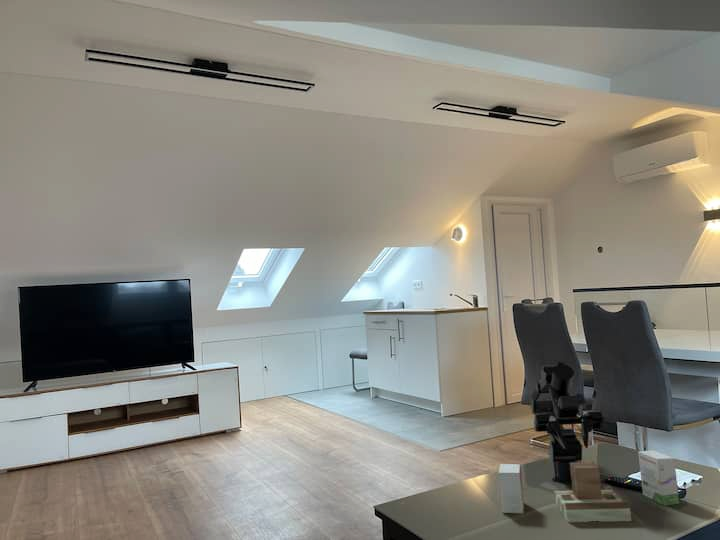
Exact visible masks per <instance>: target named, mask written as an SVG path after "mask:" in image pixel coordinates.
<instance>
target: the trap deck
mask: <svg viewBox="0 0 720 540" xmlns="http://www.w3.org/2000/svg"><path fill="white" fill-rule="evenodd" d="M601 493H602V499H584V500H578V499H577V498H576V496H575V495H574V494H573V490H558V491H557V490H554V491H553V494H554V503H555V505H556V506H557V508H558V510H559V511H560V513H561V512H562V513H561V514H562V515H563V518H564V519H565V520H567V521H566V522H567V523H592V522H591V521H594V522H595V521H599V522H606V523H607V522H632V513H631V505H630V504H631V503H630V501H629V500H628V501H627V500H625V501H623V500H622V498H621V497H620V496H619V495H618V494H617V493H616V492H615V491H614V490H613V489H601ZM589 521H590V522H589ZM594 522H593V523H594ZM599 522H598V523H599ZM595 523H596V522H595Z"/></svg>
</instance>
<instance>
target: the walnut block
mask: <svg viewBox="0 0 720 540" xmlns="http://www.w3.org/2000/svg"><path fill="white" fill-rule="evenodd" d="M570 470H571V480H572V484H571V491H573V494H574V495H575V496H576V498H577V499H578V500H584V499H602V493H601V490H602V485H601V475H600V467H599V466H598V465H597V464H596V463H595V462H594V461H578V462H570Z"/></svg>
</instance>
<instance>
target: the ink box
mask: <svg viewBox="0 0 720 540" xmlns="http://www.w3.org/2000/svg"><path fill="white" fill-rule="evenodd" d="M638 463H639V471H640V479H641V489H642V495H644V496H645V497H646V498H649V499H650V500H652V501H654V502H656V503H657V504H659V505H661V506H664V507H665V506H673V505H678V504H680V495H679V489H678V488H679V487H678V486H679V485H678V480H677V471H676V465H675V464H676V463H675V458H674V457H671V456H669V455H666V454H664V453H661V452H659V451H657V450H640V451H638Z"/></svg>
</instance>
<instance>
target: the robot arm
mask: <svg viewBox="0 0 720 540" xmlns="http://www.w3.org/2000/svg"><path fill="white" fill-rule="evenodd" d="M574 374H575V371H574V369H573V368H572V367H571V366H569V365H567V364H565V362H563V361H557V362H556V363H555V365H554V364H553V365H552V364H551V365H543V366H542V369H540V377H541V378H540V380H539V381H538V382H536V383H535V389H534V391H533V393H532V395H531V396H530V406H531V407H530V408H531V413H532V414H533V415H534V419H533V427H534V430H535V432H536V433H537V432H538V433H540V432H541V433H542V432H546V434H548V435H550V441H549V445H548V450H547V451H548V457H549V459H550V461H551V462H553V468H554V469H553V470H554V471H553V472H554V477H552V479H551V481H554V482H559V483H563V484H567V485H572V480H571V470H570V462H582V460H583V445H584V447H585V449H588V447H589V433H591V432H592V431H593V430H601V429H603V425H604V422H605V418H606V417H605V416H604V413H603V412H602V411H600V410H587V411H586V415H584V416H578V414H579V413H580V410H579V408H580V407H584V406H585V405H586V399H585V396H584V393H576V394H575V395H572V394H571V391H570V390H571V389H572V385H573V379H574ZM541 394H549V395H550V399H539V397H540V396H541ZM567 425H581V427H580V428H581V429H580V433H581V438H582V441H583V444H582V443H581V441H580V439H578V437H577V434H575V432H574V430H573V429H572V428H565V427H564V426H567Z"/></svg>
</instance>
